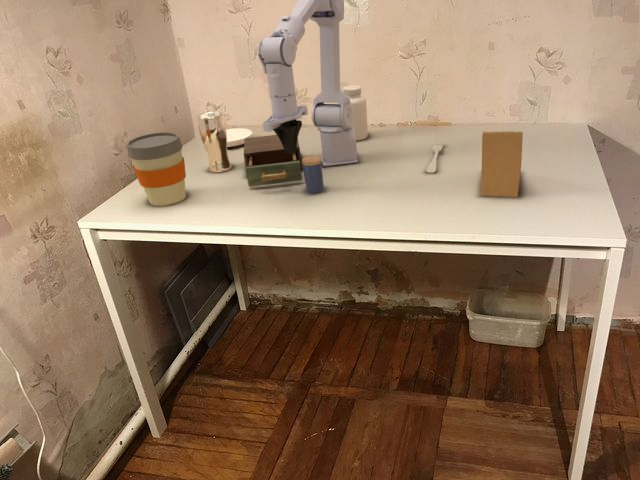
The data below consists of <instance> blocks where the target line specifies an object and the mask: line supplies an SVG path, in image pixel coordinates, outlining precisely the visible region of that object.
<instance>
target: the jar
mask: <svg viewBox="0 0 640 480" xmlns="http://www.w3.org/2000/svg"><path fill="white" fill-rule="evenodd" d="M301 163H302V169H303V175H304V183H305V191H306V193H308V194H312V195H315V194H320V193H323V192H324V191H325V184H324V174H323V164H322V160H321V156H319V155H309V156H305V157H303V158H301Z"/></svg>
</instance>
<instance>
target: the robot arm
mask: <svg viewBox="0 0 640 480" xmlns="http://www.w3.org/2000/svg"><path fill="white" fill-rule="evenodd" d="M344 19H345V0H297V2H296V4H295V6H294V7H293V10H292V12H291V13H290V14H287V15H282V17H281V20H279V23H278V24H277V26H276V27H275V29H274V30H273V32H272V33H271V34H270V36H265V37H264V38H262V40H261V41H260V42H259V44H258V53H257V56H258V59H259V62H260V63H261V65H262V67H263V68H262V69H263V72H264V74H265V75H266V77H267V78H266V79H267V84H268V93H269V99H270V104H271V105H270V106H271V112H272V114H271V115H270V116H269V117H268V118H267V119H266V120H264V121H263V122H262V123H261V124H262V130H263V132H268V133H272V132H274V133H275V135H277V136H278V137H279V139H280V141H281V143H282V145H283V148H284V150H285V153H286V154H294V153H296V147H297V139H298V140H299V134H300V131H301V129H302V126H303V121H302V120H300V119H301V118H303V116H307V115H309V111H308V105H299V106H298V101H297V94H296V93H297V92H296V87H295V86H296V85H295V78H294V69H293V64H294V63H295V62H296V57H297V51H298V45H299V43H300V42H301V40H302V38H303V37H304V36H305V33H306V28H305V25H306V24H307V23H308V21H309V20H311V21H312V22H315V23H316V24H317V26H318V27H319V59H320V60H319V61H320V63H319V65H320V92H319V93H318V94H317V95H316V96H315V97H314V98H313V99H312V109H311V117H310V118H311V122H312V124H313V126H314V127H315V128H317V132H318V131H319V135H320V143H321V153H322V155H320V157H321V161H322V162H321V164H322V167H331V166H341V165H349V164H356V163H358V162H359V160H358V148H357V141H356V136H355V130H354V127H349V126H350V125H351V123H352V118H353V113H352V109H351V101H350V99H349V98H348V97H347V96H346V95H345V94H344V93H343V91H342V90H341V57H340V56H341V55H340V52H341V51H340V50H341V49H340V48H341V47H340V22H342V21H343V20H344Z"/></svg>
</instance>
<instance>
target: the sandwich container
mask: <svg viewBox="0 0 640 480" xmlns="http://www.w3.org/2000/svg"><path fill="white" fill-rule="evenodd" d="M523 137H524V132H523V131H514V130H513V131H511V130H509V131H508V130H497V131H495V130H493V131H483V132H482V137H481V176H480V177H481V179H480V182H481V183H480V184H481V186H480V196H481V197H497V198H499V197H500V198H518V196H519V190H520V181H521V173H522V159H523V139H524V138H523Z"/></svg>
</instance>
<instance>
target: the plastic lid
mask: <svg viewBox="0 0 640 480" xmlns="http://www.w3.org/2000/svg"><path fill="white" fill-rule="evenodd" d="M226 132H227V148H230V147H236V146H240V145H244V142H245V138H252V137H254V132H253V131H252V129H249V128H241V127H240V128H239V127H238V128H228V129H227V128H226Z"/></svg>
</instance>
